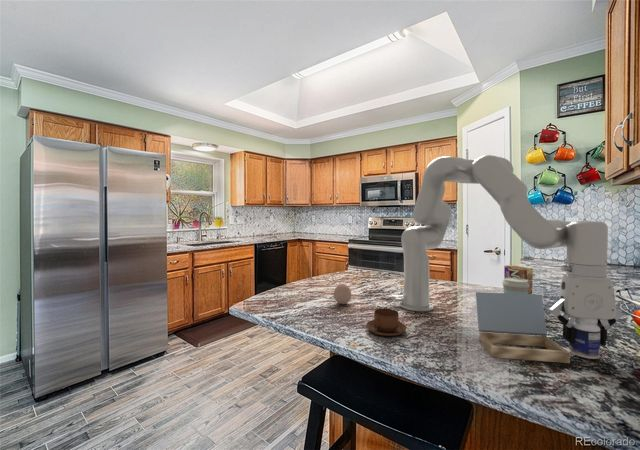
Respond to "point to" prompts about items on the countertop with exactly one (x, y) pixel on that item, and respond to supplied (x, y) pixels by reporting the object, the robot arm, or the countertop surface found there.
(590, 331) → the pill bottle
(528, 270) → the candy box
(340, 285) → the egg
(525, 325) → the cover
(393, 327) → the cup and saucer
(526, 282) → the coffee cup
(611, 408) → the countertop surface
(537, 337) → the hinged lid wooden box
